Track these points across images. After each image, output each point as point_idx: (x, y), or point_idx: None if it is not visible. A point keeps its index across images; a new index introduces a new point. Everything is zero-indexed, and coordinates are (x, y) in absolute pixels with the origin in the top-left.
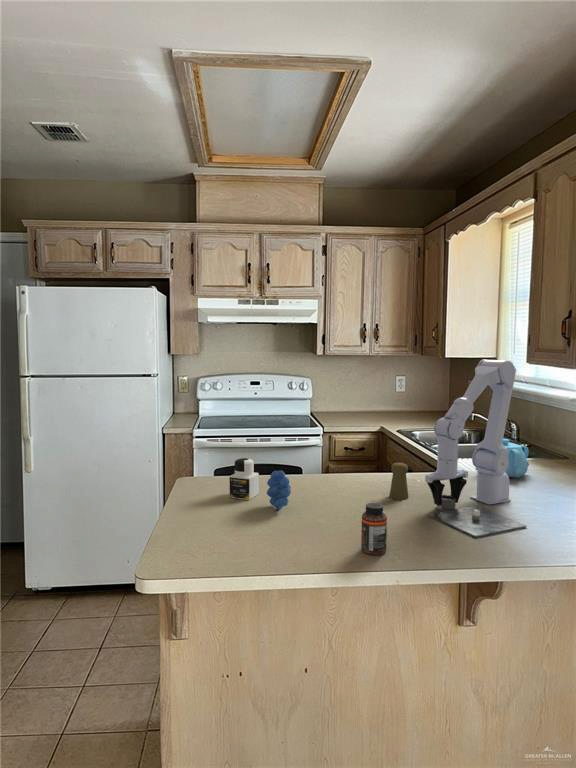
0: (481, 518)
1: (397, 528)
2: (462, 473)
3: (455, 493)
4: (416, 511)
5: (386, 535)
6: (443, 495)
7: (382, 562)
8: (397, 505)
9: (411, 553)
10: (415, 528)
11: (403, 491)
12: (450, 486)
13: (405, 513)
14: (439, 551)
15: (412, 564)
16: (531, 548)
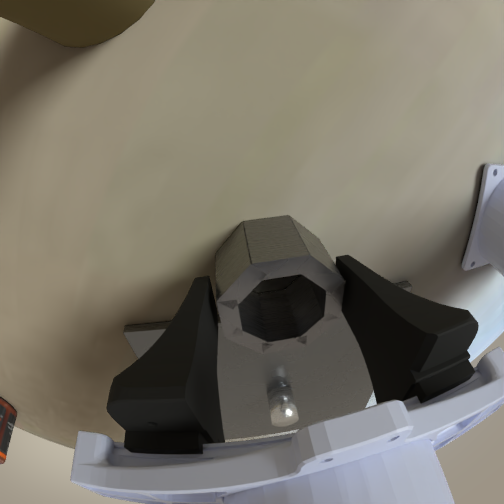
0: (305, 388)
1: (18, 363)
2: (438, 444)
3: (357, 320)
4: (86, 264)
5: (10, 436)
6: (294, 274)
7: (19, 421)
8: (20, 154)
9: (53, 427)
10: (61, 379)
11: (66, 29)
12: (385, 303)
13: (36, 274)
14: None
15: (56, 438)
16: None
